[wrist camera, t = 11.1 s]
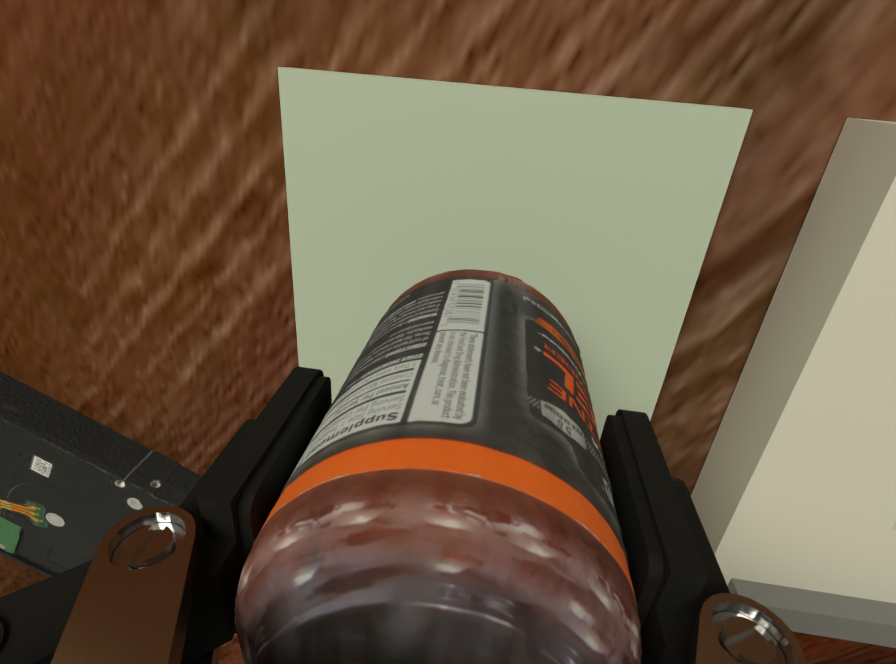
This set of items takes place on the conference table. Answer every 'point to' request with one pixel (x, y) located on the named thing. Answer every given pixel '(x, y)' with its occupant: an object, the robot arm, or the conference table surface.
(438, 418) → the supplement bottle
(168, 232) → the conference table surface
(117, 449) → the disk drive
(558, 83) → the conference table surface
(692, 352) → the conference table surface
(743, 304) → the conference table surface
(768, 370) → the dispenser block
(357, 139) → the sage mat
